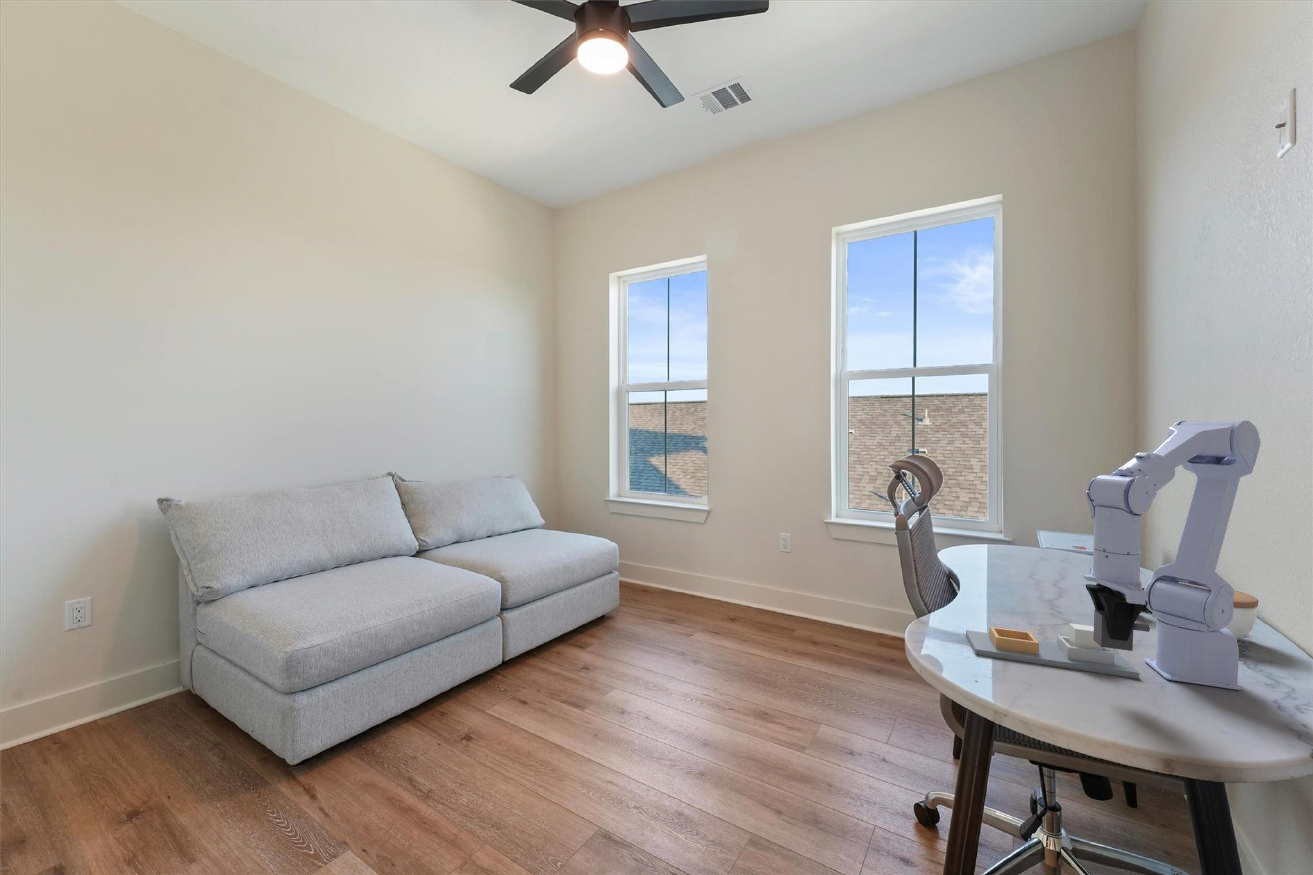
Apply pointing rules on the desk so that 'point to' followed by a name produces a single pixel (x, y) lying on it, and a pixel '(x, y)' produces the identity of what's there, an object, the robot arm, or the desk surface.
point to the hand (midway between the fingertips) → (1113, 635)
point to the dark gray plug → (1103, 636)
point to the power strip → (1052, 650)
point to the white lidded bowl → (1241, 613)
